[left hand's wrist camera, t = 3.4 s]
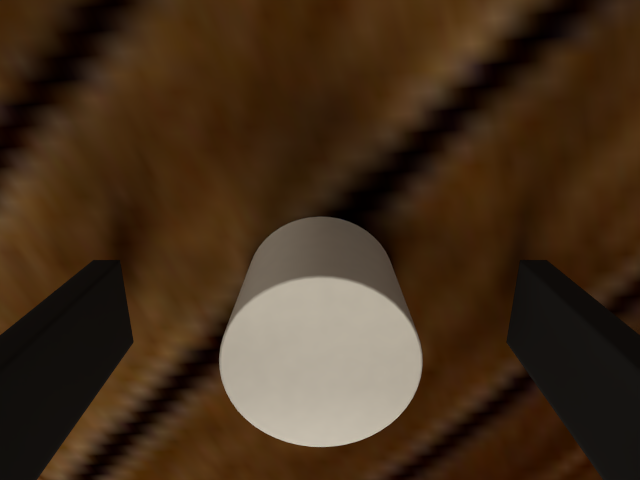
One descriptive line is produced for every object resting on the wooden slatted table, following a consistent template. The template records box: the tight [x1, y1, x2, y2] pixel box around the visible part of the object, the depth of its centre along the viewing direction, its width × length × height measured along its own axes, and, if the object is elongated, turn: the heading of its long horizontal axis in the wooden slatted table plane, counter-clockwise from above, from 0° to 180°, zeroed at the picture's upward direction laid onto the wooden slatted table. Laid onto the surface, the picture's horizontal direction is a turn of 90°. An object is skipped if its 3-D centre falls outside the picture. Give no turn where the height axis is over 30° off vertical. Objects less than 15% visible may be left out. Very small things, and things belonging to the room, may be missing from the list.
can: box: [219, 217, 422, 447], centre depth 12 cm, size 5×5×4 cm
